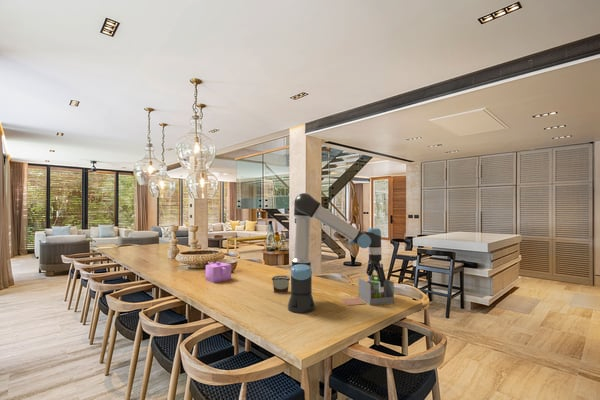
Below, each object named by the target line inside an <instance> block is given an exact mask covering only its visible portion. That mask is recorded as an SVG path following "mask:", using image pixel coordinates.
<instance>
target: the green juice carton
mask: <svg viewBox="0 0 600 400" xmlns="http://www.w3.org/2000/svg"><path fill="white" fill-rule="evenodd" d="M366 282H368V283H370V284H371V299H374V298H385V281H384V292H379V277H378V275H376V274H373V275H372V279H370V280H367V281H366Z"/></svg>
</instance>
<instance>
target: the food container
mask: <svg viewBox="0 0 600 400" xmlns="http://www.w3.org/2000/svg"><path fill="white" fill-rule="evenodd" d="M271 281H272V286H273V293H275V294H276V293H279V294H281V293H282V294H283V293H284V294H288V293H289V288H290V287H289V286H290V281H291V277H290V276H288V275H275V276H273V277H271Z"/></svg>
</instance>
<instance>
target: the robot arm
mask: <svg viewBox="0 0 600 400" xmlns="http://www.w3.org/2000/svg"><path fill="white" fill-rule="evenodd" d="M293 205H294V206H293V207H294V209H293V210H294V211H293V216H294V217H295V219H296V221H295V241H294V258H293V259H292V260H291V268H290V296H289V301H288V302H287V310H288V311H290V312H292V313H295V314H296V313H297V314H307V313H312V312H314V311H315V310H316V303H315V299H314V297H313V293H312V280H313V279H312V275H313V271H312V268H311V267H312V261H311V260H310V255H309V254H310V239H311V238H310V233H311V219H313V218H315V219H316V220H318V221H319V222H321V223H322V224H324V225H326V226H328V227H329V228H331V229H332V230H333V231H335V232H337V233H338V234H340V235H341V236H343V237H344V238H346V239H347V240H348V243H349V245H353V246H356V245H357V246H358V247H359V248H361V249H367V248H368V263H367V267H366V273H365V274H367V279H368V280H370V279H372V275H374V271H375V272H376V274H377V275H378V277H379V292H384V281H386V279H387V277H386V274H385V270H384V264H383V263H381V261H382V232H381V231H382V230H381V229H380V228H379V227H378V228H377V227H375V228H374V227H372V228H371V227H370V228H368V230H367V231H361V230H359V229H358V228H356V227H355V226H353V225H352V224H350V223H349V222H347V221H345V220H344V219H342V218H341V217H339V216H338V215H336V214H335V213H333V212H331V211H330V210H328V209H327V208H326V207H324V206H322V203H321V202H320V201H318V200H316V199H315V198H314V197H313V196H312V195H311V194H309V193H306V192H304V193H299V194H298V195H296V197H295V199H294V203H293ZM368 280H367V281H368Z"/></svg>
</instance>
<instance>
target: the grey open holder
mask: <svg viewBox="0 0 600 400" xmlns="http://www.w3.org/2000/svg"><path fill="white" fill-rule="evenodd" d="M357 279H358V298H359V299H361V300H362V301H363V302H365V303H366V304H367V305H369V306H377V305H387V304H388V305H389V304H394V303H395V290H394V289H395V282H393V281H391V280H390V279H387V278H386V281H385V298H374V299H371V284H370V283H368V282H367V281H366V280H364V279H362V278H361V277H358V278H357Z"/></svg>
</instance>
